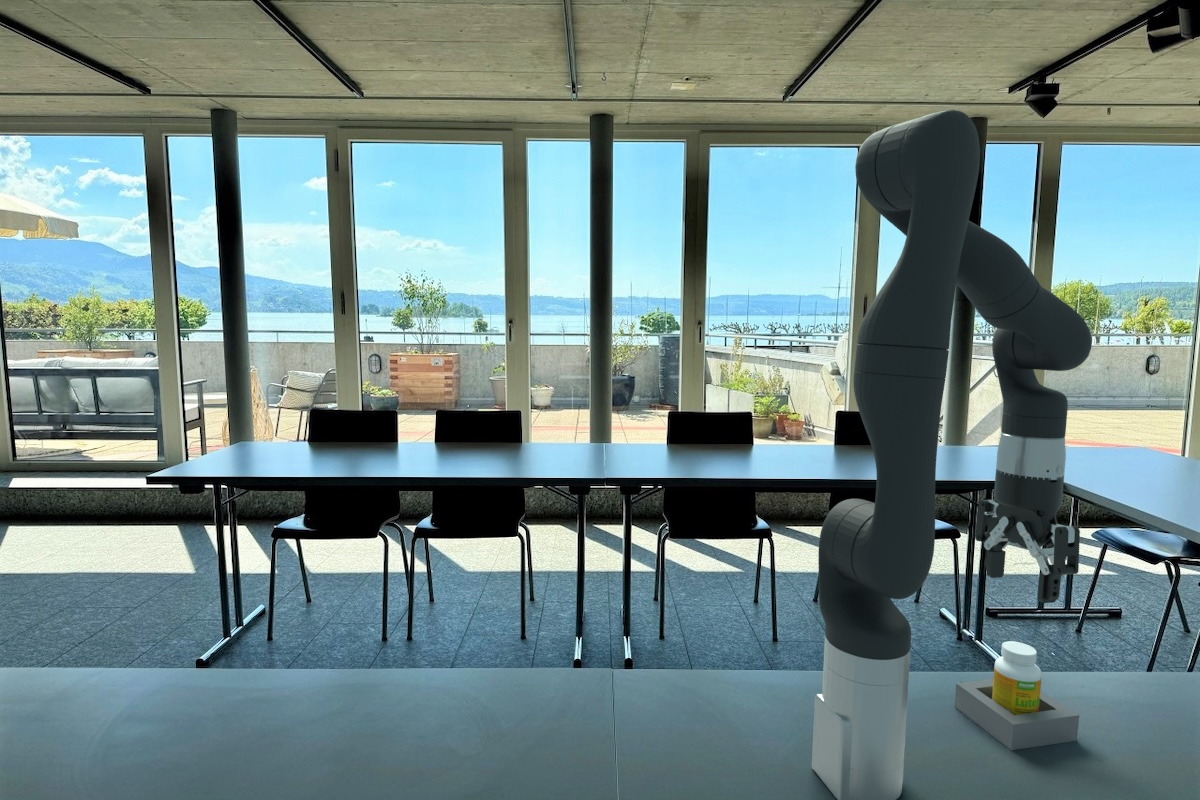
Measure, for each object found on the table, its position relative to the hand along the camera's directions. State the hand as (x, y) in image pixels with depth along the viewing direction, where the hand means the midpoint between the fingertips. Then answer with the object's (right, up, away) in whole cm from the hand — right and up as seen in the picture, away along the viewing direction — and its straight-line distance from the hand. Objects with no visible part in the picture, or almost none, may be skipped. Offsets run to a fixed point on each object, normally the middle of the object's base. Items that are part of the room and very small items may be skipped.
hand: (1019, 588), depth 90 cm
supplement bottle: (0, -18, +2) cm, 18 cm away
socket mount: (0, -19, +2) cm, 19 cm away
